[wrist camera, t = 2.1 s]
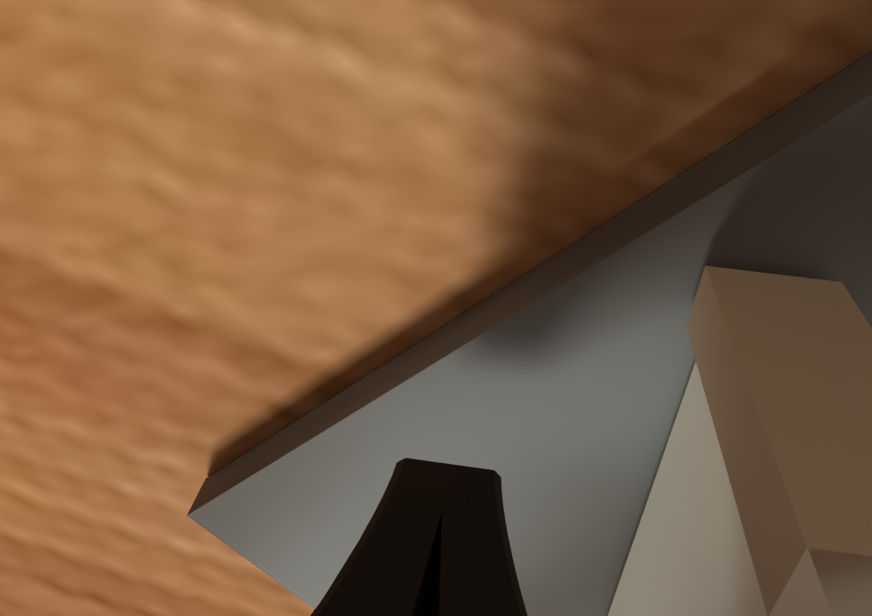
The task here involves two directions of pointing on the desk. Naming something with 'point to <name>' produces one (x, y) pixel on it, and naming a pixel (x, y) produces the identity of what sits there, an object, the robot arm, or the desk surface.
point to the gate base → (566, 368)
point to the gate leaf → (763, 460)
